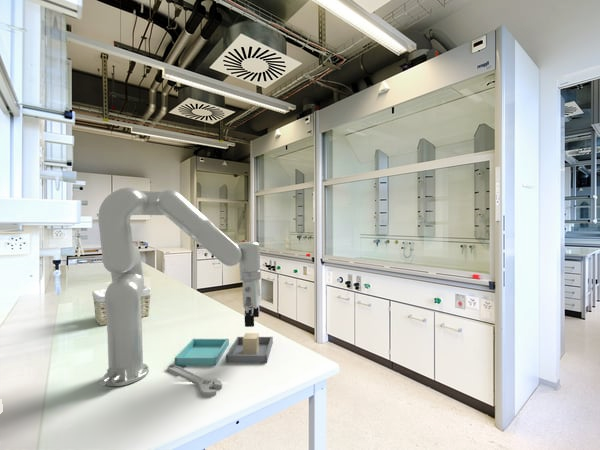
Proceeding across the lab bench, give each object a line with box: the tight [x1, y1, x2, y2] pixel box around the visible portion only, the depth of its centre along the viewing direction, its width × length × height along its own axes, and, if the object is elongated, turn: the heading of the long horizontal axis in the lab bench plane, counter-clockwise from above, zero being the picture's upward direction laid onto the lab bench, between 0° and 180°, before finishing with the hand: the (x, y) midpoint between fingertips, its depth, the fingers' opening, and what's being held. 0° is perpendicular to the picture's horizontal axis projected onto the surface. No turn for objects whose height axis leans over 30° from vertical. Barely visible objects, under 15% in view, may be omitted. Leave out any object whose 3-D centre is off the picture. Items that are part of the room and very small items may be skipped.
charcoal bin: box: [225, 336, 274, 364], centre depth 111 cm, size 16×14×3 cm
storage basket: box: [91, 284, 152, 326], centre depth 152 cm, size 24×16×15 cm
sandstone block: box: [242, 332, 260, 355], centre depth 111 cm, size 5×5×6 cm
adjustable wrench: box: [167, 363, 223, 398], centre depth 94 cm, size 25×6×2 cm, turn 49°
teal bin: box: [174, 338, 230, 368], centre depth 109 cm, size 16×14×3 cm
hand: (252, 321), depth 111 cm, fingers open, 9 cm apart
